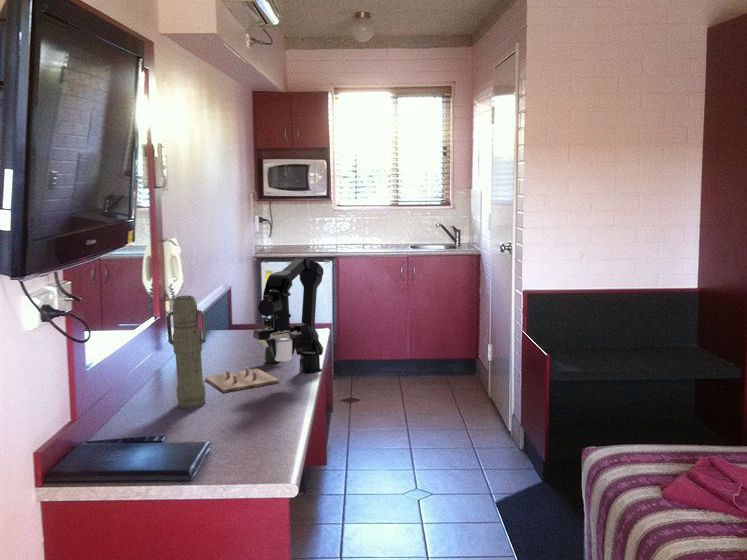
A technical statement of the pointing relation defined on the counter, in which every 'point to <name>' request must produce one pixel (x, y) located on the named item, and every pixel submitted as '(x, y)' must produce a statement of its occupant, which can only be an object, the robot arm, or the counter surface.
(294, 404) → the counter surface
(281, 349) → the shot glass
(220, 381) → the pin plate
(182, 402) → the thermos
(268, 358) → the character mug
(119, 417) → the counter surface
